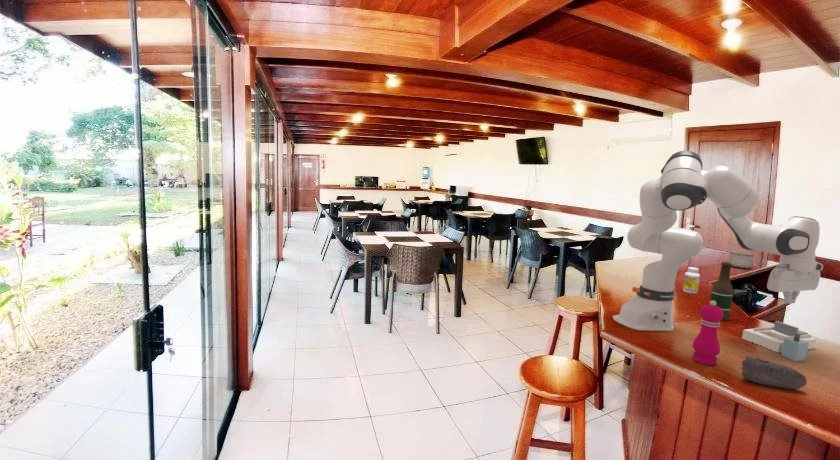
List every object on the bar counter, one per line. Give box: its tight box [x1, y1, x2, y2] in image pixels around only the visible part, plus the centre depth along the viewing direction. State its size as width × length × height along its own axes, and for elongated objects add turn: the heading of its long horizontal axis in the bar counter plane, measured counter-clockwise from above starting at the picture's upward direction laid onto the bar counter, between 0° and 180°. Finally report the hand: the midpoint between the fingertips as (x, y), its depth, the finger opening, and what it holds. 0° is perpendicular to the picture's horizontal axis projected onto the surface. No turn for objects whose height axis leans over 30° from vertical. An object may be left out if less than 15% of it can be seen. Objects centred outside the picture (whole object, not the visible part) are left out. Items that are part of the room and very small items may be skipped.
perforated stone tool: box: [741, 356, 807, 390], centre depth 116 cm, size 15×5×7 cm, turn 63°
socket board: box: [741, 325, 817, 353], centre depth 148 cm, size 18×12×4 cm, turn 106°
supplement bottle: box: [682, 266, 701, 294], centre depth 212 cm, size 7×7×13 cm
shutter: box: [773, 320, 809, 336], centre depth 149 cm, size 7×7×3 cm
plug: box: [781, 333, 809, 362], centre depth 136 cm, size 4×4×8 cm
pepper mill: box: [692, 300, 723, 366], centre depth 129 cm, size 7×7×20 cm
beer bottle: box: [708, 261, 734, 321], centre depth 173 cm, size 8×8×24 cm
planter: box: [728, 250, 754, 269], centre depth 284 cm, size 13×13×10 cm
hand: (789, 302), depth 142 cm, fingers closed
